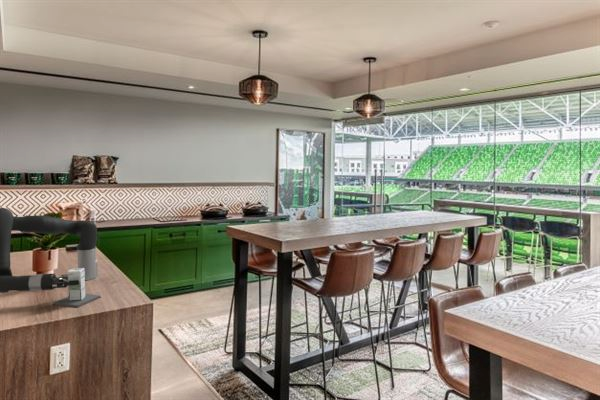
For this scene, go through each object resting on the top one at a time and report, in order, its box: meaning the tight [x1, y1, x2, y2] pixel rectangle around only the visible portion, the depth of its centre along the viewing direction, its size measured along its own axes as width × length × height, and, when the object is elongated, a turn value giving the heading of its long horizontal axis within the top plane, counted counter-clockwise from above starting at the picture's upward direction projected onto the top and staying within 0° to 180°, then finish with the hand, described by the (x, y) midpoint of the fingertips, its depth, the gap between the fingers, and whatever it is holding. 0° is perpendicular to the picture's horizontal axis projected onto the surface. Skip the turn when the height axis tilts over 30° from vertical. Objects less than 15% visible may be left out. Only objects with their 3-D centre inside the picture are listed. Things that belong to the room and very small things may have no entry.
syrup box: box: [67, 267, 86, 301], centre depth 184 cm, size 6×6×14 cm
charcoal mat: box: [52, 293, 102, 308], centre depth 185 cm, size 14×14×1 cm
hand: (81, 279), depth 185 cm, fingers open, 8 cm apart
